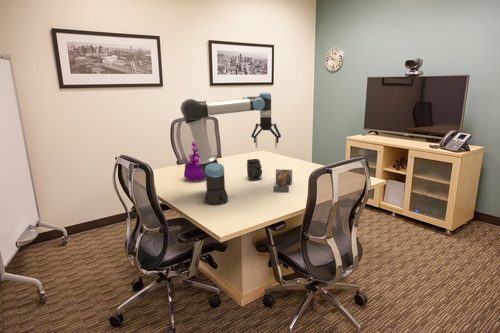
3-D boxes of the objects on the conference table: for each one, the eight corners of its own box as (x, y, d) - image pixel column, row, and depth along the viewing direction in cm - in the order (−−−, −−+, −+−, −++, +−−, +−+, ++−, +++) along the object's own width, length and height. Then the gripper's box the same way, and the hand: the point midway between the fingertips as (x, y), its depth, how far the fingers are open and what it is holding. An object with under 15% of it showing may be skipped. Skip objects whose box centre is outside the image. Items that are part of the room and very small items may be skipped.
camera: (263, 180, 249) (262, 161, 245) (249, 181, 247) (248, 162, 243) (260, 176, 259) (259, 157, 255) (247, 177, 257) (246, 158, 253)
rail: (277, 186, 224) (277, 178, 223) (281, 179, 239) (281, 171, 238) (284, 187, 223) (284, 178, 222) (287, 180, 238) (287, 172, 236)
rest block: (273, 191, 224) (273, 186, 223) (274, 189, 228) (274, 184, 227) (288, 192, 222) (288, 187, 221) (288, 190, 226) (288, 184, 225)
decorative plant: (190, 175, 267) (187, 138, 259) (211, 176, 263) (209, 139, 255) (180, 182, 249) (177, 143, 241) (204, 183, 246) (201, 144, 238)
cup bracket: (274, 184, 238) (274, 171, 235) (275, 182, 244) (275, 169, 241) (291, 185, 236) (291, 171, 233) (292, 182, 241) (292, 169, 239)
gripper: (246, 117, 219) (247, 148, 225) (283, 117, 214) (283, 149, 220) (248, 115, 226) (249, 146, 232) (284, 115, 221) (285, 146, 227)
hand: (266, 147), depth 226 cm, fingers open, 13 cm apart
